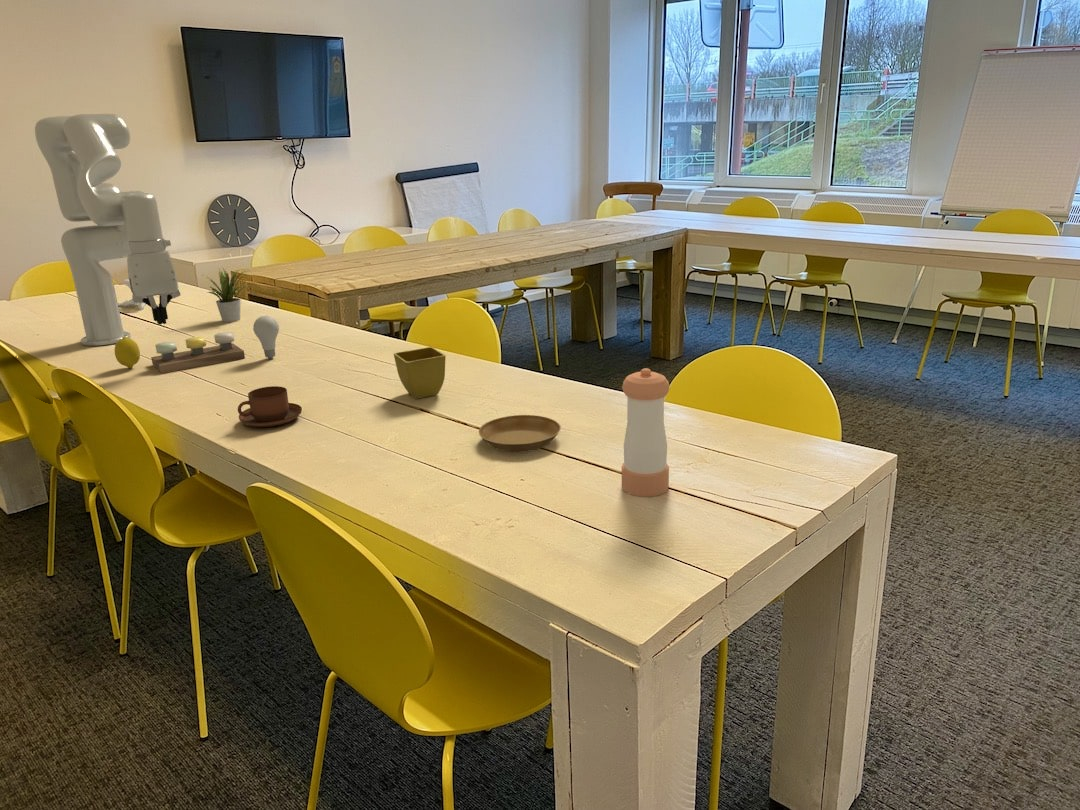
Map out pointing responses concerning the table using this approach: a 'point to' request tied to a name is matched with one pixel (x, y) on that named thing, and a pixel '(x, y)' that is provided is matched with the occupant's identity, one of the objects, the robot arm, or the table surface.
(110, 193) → the robot arm
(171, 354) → the sage button
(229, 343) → the grey button
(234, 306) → the house plant
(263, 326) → the lightbulb
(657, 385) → the pepper shaker
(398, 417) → the table surface
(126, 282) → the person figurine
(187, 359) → the button board
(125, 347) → the lemon
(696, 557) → the table surface
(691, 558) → the table surface
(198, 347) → the yellow button
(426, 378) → the flower pot
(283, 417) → the cup and saucer
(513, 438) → the plant saucer
